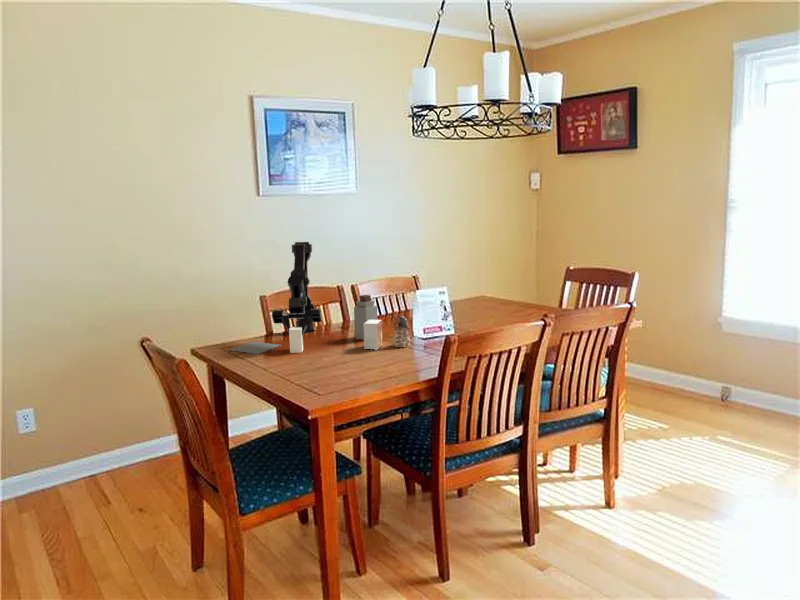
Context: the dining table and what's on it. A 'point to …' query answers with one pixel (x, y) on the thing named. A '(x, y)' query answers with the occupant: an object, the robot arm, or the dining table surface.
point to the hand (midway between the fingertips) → (295, 334)
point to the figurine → (401, 332)
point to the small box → (373, 334)
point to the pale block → (296, 339)
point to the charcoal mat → (255, 347)
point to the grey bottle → (363, 314)
